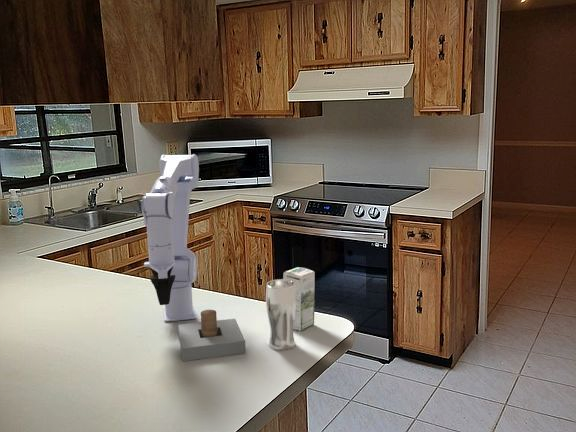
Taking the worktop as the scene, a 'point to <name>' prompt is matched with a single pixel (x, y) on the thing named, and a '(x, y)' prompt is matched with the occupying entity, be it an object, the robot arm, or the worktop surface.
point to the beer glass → (281, 313)
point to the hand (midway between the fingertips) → (163, 298)
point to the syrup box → (303, 296)
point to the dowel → (208, 323)
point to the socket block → (211, 340)
